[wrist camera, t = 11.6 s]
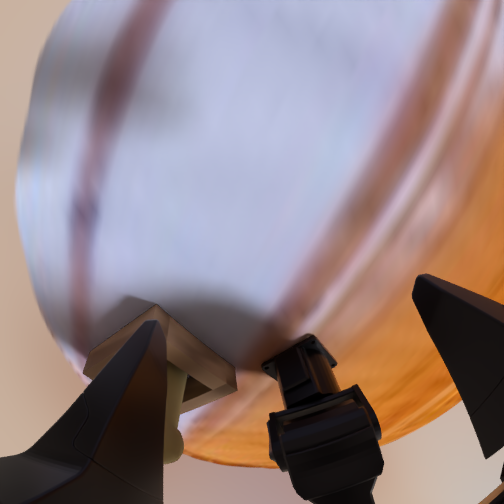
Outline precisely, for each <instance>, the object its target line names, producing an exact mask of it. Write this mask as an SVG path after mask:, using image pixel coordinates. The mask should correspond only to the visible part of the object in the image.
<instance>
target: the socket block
mask: <svg viewBox="0 0 504 504" xmlns="http://www.w3.org/2000/svg"><path fill="white" fill-rule="evenodd" d="M152 319H157V320H158V321H159V322H160V325H161V327H162V330H163V332H164V335H165V338H166V343H167V360H168V361H170V362H171V363H173V364H174V365H176V366H177V367H178V368H180V369H181V370H183V371H184V372H186V373H187V374H189V375H190V376H192V377H190V378H188V379H187V380H186V385H185V390H184V395H183V400H182V406H181V411H180V414H183V413H185V412H188V411H191V410H193V409H196V408H198V407H201V406H203V405H206V404H208V403H210V402H213V401H215V400H217V399H220V398H222V397H224V396H227V395H229V394H231V393H233V392H235V391H238V390H237V382H236V374H235V367H233V366H232V365H231V364H229V363H228V362H227V361H225V360H224V359H223V358H221V357H220V356H219V355H217V354H216V353H215V352H213V351H212V350H211V349H210V348H208V347H207V346H206V345H205V344H203V343H202V342H201V341H200V340H198V339H197V338H196V337H195V336H193V335H192V334H191V333H190V332H188V331H187V330H186V329H185V328H184V327H182V326H181V325H180V324H179V323H178V322H177V321H175V320H174V319H173V318H172V317H171V316H170V315H168V314H167V313H166V312H165V311H164V310H163V309H162V308H160V307H159V306H158V305H157V304H156V305H154V306H153V307H152V308H150V309H149V310H147V311H146V312H145V313H143V314H142V315H140V316H139V317H138V318H136V319H135V320H133V321H132V322H131V323H129V324H128V325H126V326H125V327H124V328H122V329H121V330H119V331H118V332H117V333H115V334H114V335H112V336H111V337H110V338H108V339H107V340H106V341H104V342H103V343H101V344H100V345H99V346H97V347H96V348H95V349H93V350H92V351H90V353H89V356H88V359H87V361H86V364H85V367H84V370H83V374H84V375H86V376H87V377H89V378H90V379H92V380H93V379H94V378H95V377H96V376H97V375H98V374H99V372H100V371H101V370H102V369H103V368H104V367H105V365H106V364H107V363H108V362H109V361H110V360H111V358H112V357H113V356H114V355H115V354H116V353H117V352H118V350H119V349H120V348H121V347H122V346H123V345H124V344H125V342H126V341H127V340H128V339H129V338H130V337H131V336H132V335H133V333H134V332H135V331H136V330H137V329H138V328H139V327H140V326H141V324H142V323H143V322H144V321H146V320H152Z"/></svg>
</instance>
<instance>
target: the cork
mask: <svg viewBox="0 0 504 504" xmlns="http://www.w3.org/2000/svg"><path fill="white" fill-rule="evenodd" d="M187 375H188V374H187V373H186V372H184V371H183V370H181V369H180V368H178V367H177V366H176V365H174V364H173V363H171V362H170V361H168V360H167V383H168V386H167V401H166V415H165V433H164V459H163V464H169V463H172V462H175V461H177V460H178V459H179V458H180V456H181V455H182V453H183V449H184V442H183V438H182V435H181V433H180V431H179V430H178V429H177V427H178V422H179V416H180V411H181V406H182V400H183V395H184V390H185V385H186V380H187Z"/></svg>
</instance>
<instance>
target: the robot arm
mask: <svg viewBox="0 0 504 504" xmlns="http://www.w3.org/2000/svg"><path fill="white" fill-rule="evenodd" d="M412 299H413V302H414V304H415V306H416V308H417V310H418V312H419V314H420V316H421V318H422V321H423V323H424V325H425V327H426V329H427V331H428V333H429V335H430V337H431V339H432V340H433V342H434V344H435V346H436V348H437V350H438V351H439V353H440V355H441V357H442V359H443V361H444V363H445V365H446V367H447V369H448V371H449V373H450V375H451V377H452V379H453V381H454V383H455V385H456V387H457V389H458V391H459V394H460V396H461V398H462V400H463V403H464V405H465V407H466V409H467V412H468V414H469V416H470V419H471V422H472V424H473V427H474V429H475V432H476V434H477V437H478V440H479V442H480V446H481V448H482V451H483V454H484V457H485V459H487V458H489V457H490V456H492V455H493V454H494V453H496V452H497V451H498V450H500V449H501V448H502V447H503V446H504V305H503V304H502V305H501V304H500V303H498V302H496V301H493V300H491V299H489V298H486V297H484V296H482V295H479V294H477V293H475V292H472V291H470V290H467V289H465V288H462V287H460V286H457V285H455V284H452V283H450V282H448V281H445V280H442V279H440V278H437V277H435V276H432V275H430V274H421V275H418V276H417V278H416V280H415V284H414V288H413V291H412ZM336 365H337V362H336V360H335V359H334V357H333V356H332V355H331V354H330V353H329V352H328V350H327V349H326V348H325V347H324V346H323V344H322V343H321V342H320V341H319V340H318V338H317V337H316V336H311V337H309V338H307V339H306V340H304V341H302V342H301V343H299V344H297V345H295V346H294V347H292V348H290V349H288V350H287V351H285V352H283V353H281V354H279V355H278V356H276V357H274V358H272V359H270V360H268V361H267V362H265V363H263V364H262V365H261V366H262V370H263V371H265V372H266V373H267V374H268V375H270V376H271V377H272V378H274V379H275V380H276V381H278V384H279V388H280V392H281V396H282V400H283V404H284V408H285V410H283V411H279V412H272V413H269V418H270V420H268V422H267V427H268V432H269V456H270V459H271V460H273V461H275V462H276V463H277V465H278V466H279V467H280V469H281V471H282V472H287V471H288V472H289V475H290V478H291V482H292V484H293V487H294V489H295V490H296V493H297V494H298V495H299V496H301V497H302V498H303V499H304V500H309V501H310V502H312V503H313V504H375V502H374V499H373V495H372V490H373V488H374V485H375V482H376V479H377V476H379V475H381V474H382V470H383V466H384V460H383V458H382V454H381V450H380V447H379V444H378V440H380V439H381V428H380V425H379V422H378V419H377V416H376V414H375V412H374V410H373V409H372V407H371V405H370V404H369V402H368V401H367V399H366V397H365V396H364V394H363V393H362V391H361V389H360V388H359V386H358V385H357V384H356V385H353V386H352V387H350V388H348V389H345V390H343V391H341V390H340V387H339V385H338V383H337V380H336V378H335V376H334V373H333V371H332V368H334V367H335V366H336ZM167 386H168V383H167V343H166V338H165V335H164V332H163V330H162V327H161V325H160V322H159V321H158V320H157V319H152V320H146V321H144V322H143V323H142V324H141V326H140V327H139V328H138V329H137V330H136V331H135V332H134V333H133V335H132V336H131V337H130V338H129V339H128V340H127V341H126V342H125V344H124V345H123V346H122V347H121V348H120V349H119V350H118V352H117V353H116V354H115V355H114V356H113V357H112V358H111V360H110V361H109V362H108V363H107V364H106V365H105V367H104V368H103V369H102V370H101V371H100V372H99V374H98V375H97V376H96V377H95V378H94V379H93V381H92V382H91V383H90V384H89V385H88V387H87V388H86V389H85V390H84V393H82V394H81V395H80V396H79V397H78V398H77V400H76V401H75V402H74V403H73V404H72V405H71V407H70V408H69V409H68V410H67V411H66V412H65V413H64V414H63V416H61V417H60V419H59V420H58V421H57V422H56V423H55V424H54V425H53V426H52V427H51V428H50V429H49V430H48V431H47V432H46V433H45V434H44V435H43V436H42V437H41V438H40V439H39V440H38V441H37V442H36V443H35V444H34V445H33V446H32V447H31V448H29V449H28V450H26V451H25V452H23V453H20V454H17V455H13V456H7V457H1V458H0V504H163V459H164V433H165V415H166V401H167ZM500 479H501V481H502V484H501V485H499V486H498V487H497V488H496V489H495V490H494V491H493V492H492V493H490V494H489V495H488V496H487V497H486V498H485V499H483V500H482V501H481V502H480V503H479V504H504V464H503V468H502V473H501V477H500Z"/></svg>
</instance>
